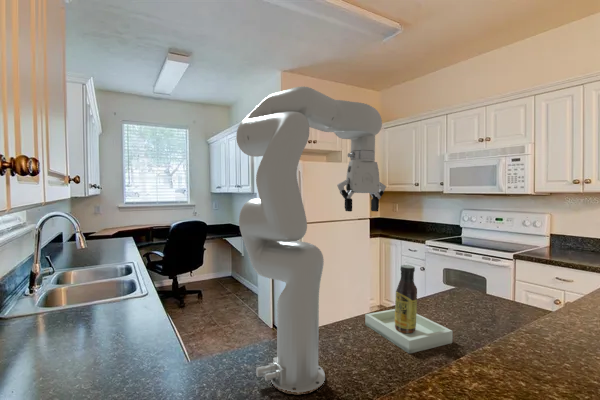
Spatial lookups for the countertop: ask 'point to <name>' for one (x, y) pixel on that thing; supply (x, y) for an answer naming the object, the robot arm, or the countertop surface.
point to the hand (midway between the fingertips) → (361, 211)
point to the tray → (419, 340)
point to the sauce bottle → (406, 301)
